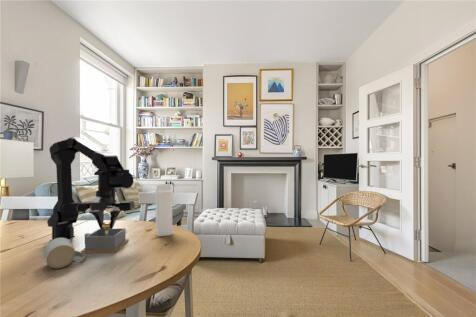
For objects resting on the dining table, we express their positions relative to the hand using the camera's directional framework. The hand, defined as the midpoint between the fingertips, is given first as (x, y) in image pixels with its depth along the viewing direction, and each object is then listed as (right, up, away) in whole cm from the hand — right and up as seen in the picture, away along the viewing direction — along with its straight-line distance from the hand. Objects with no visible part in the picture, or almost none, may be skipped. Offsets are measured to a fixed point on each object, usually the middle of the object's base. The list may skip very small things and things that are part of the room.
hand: (106, 228), depth 92 cm
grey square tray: (0, -7, 0) cm, 7 cm away
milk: (+17, -7, +16) cm, 24 cm away
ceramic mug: (-5, -7, -15) cm, 17 cm away
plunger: (0, -5, 0) cm, 5 cm away
